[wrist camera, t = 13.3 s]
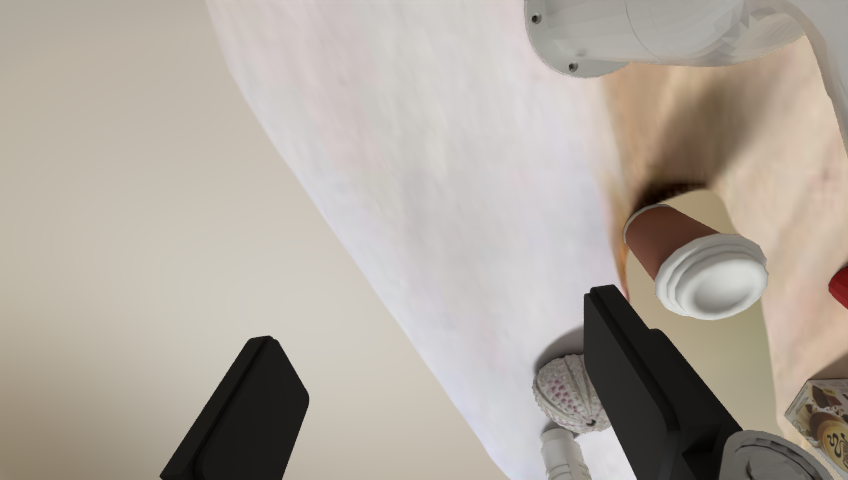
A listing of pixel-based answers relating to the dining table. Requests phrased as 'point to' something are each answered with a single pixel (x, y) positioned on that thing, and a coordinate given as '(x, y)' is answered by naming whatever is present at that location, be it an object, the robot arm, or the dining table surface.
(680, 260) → the coffee cup
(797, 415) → the coffee box
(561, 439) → the candle
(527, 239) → the dining table surface
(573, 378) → the sea urchin shell
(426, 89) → the dining table surface
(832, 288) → the plastic cup
